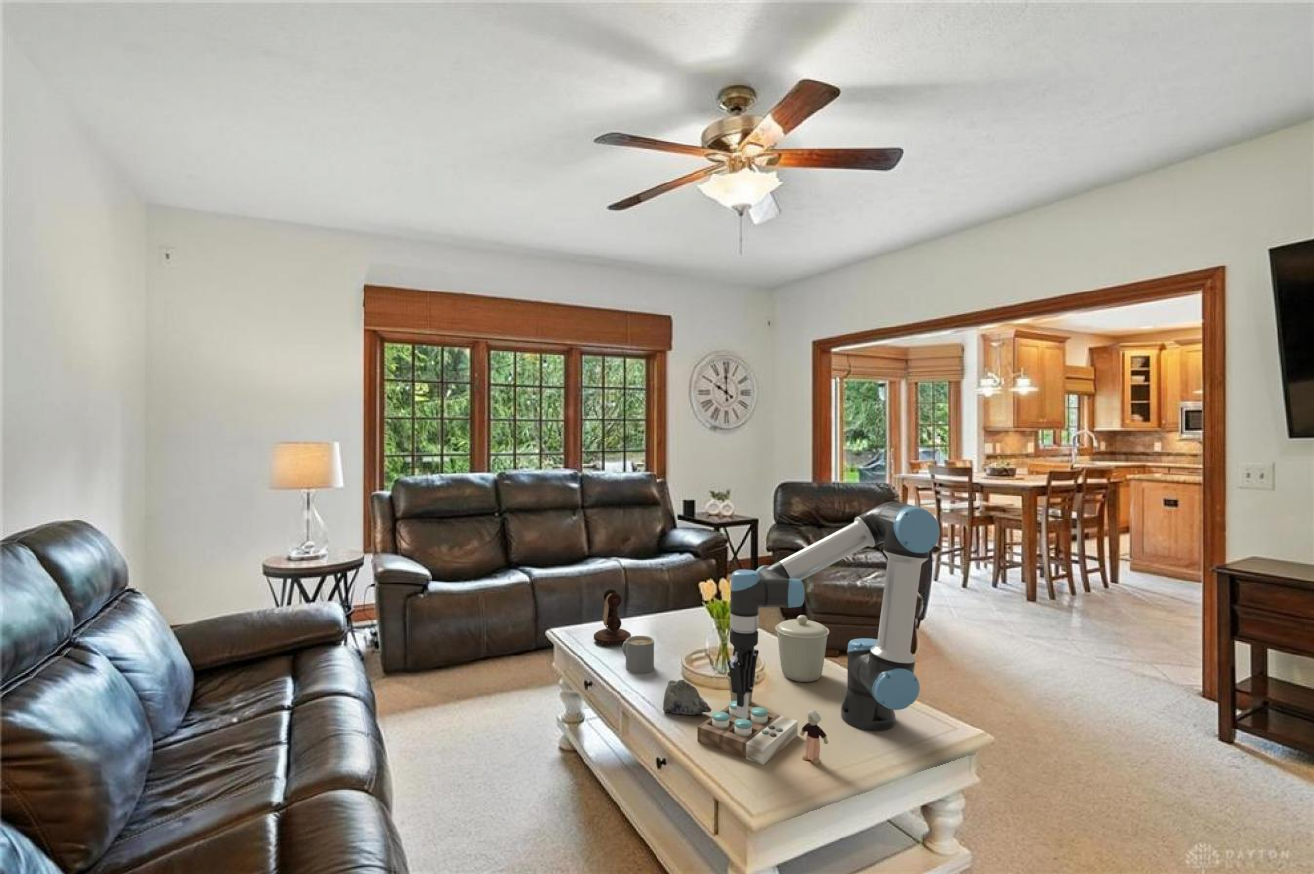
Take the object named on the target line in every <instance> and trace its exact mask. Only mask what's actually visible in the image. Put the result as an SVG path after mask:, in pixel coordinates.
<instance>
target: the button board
mask: <svg viewBox="0 0 1314 874" xmlns="http://www.w3.org/2000/svg"><path fill="white" fill-rule="evenodd" d="M752 708H755V707H754V706H751V705H748V718H747V720H750V721H751V709H752ZM719 712H725V713H728V714H729V705H728V706H726V707H725V708H724V709H721V710H719ZM737 719H743V718H738V717H735V716H732V715H729V727H728V728H727V729H726V730H722V729H719V728H716V727H713V726H712V716H711V717H710V718H708V719H706V720H705V721H703V722H702V723H701V724H699V725H698V726H697V730H696V731H697V739H696V740H697V742H699V743H702V744H704V745H707V746H710V747H712V748H715V749H718V750H721V751H724V752H726V753H728V754H731V755H735V756H738V757H740V758H743V759H746V760H749V761H751V762H753V763H757V764H760V765H761V766H764V765H765V764H766V763H768V762H770V760H771V759H772V758H773V757H774V756H776V755H777V754H778V753H779V752H780V751H782V749H784V748H785V747H786V746H787V745H788V744H790V742H791V741H793V740H794V739H795V738H796V737H798V736H799V735H798V731H799V730H798V723H799V721H798V720H796V719H793V718H789V717H786V716H783V715H780V714H778V713H777V714H776V713H773V712H769V711H768V723H766V724H765V725H764V726H763V725H760V724H757V723H754V722H752V735H751V736H750V737H748V738H745V737H742V736H739V735H736V734H734V731H735V720H737Z"/></svg>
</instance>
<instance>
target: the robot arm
mask: <svg viewBox="0 0 1314 874" xmlns="http://www.w3.org/2000/svg"><path fill="white" fill-rule="evenodd" d="M940 532H941V531H940V525H939V522H938V519H937V518H936V517H935V516H934V515H933V514H932V513H931V512H930V511H929V510H926V509H925V508H922V507H920V506H918V505H914V504H913V505H912V504H907V503H904V502H901V501H888V502H885V503H884V502H883V503H882V504H880V505H877V506H875V507H873V508H871V509H869V510H867V511H866V512H864V513H862V514H860V515H857V516H856V517H854V521H853V522H852V523H849V524H848V525H846V526H844V527H843V528H840V529H839V530H837V531H835V532H833V533H831V534H830V535H827V536H825V537H823V538H822V539H820V540H818V541H815V542H814V543H812V544H810V545H808V546H806V547H804V548H803V549H800V550H798V551H797V552H795V553H793V554H791V555H789V556H788V557H785V558H784V559H781V560H779V561H778V562H775V563H773V564H772V565H764V564H763V565H761V566H759V567H758V568H757V569H755V570H753V569H737V570H734V571H733V572H732V574H731V580H730V586H729V587H730V588H729V589H730V611H729V612H730V614H729V618H730V619H729V620H730V622H729V627H730V629H729V643H730V644H731V645H732V646H733V651H732V656H733V657H732V658H731V659H728V660H727V666H728V667H729V671H730V678H731V687H732V692H733V693H736V694H737V717H740V718H743V719H747V718H748V706H749V705H748V699H749V693H748V692H750V693H752V691H753V692H754V689H753V690H752V689H750V688H751V687H753V688H754V686H755V682H754V677H755V674H756V667H757V660H758V657H759V653H760V652H759V650H758V649H755V647H756V646H757V645H758V644H759V631H758V630H759V613H760V611H759V609H760V608H789V609H791V608H799V607H802V606H803V604H804V602H805V593H806V592H805V586H804V583H803V581H802V580H804V579H807V578H809V577H810V576H812V575H814V574H816V573H818V572H819V571H822V570H823V569H826V568H828V567H829V566H831V565H833V564H835V563H837V562H839V561H840V560H843V559H845V558H846V557H849V556H850V555H852V554H854V553H857V552H859V551H860V550H862V549H864V548H866V547H871V548H874V547H876V546H877V545H880V544H882V543H883V547H882V548H883V549H882V552H883V553H884V554H885V555H886V557H887V563H886V572H885V579H884V587H883V592H882V593H883V594H882V601H881V610H880V617H879V626H878V634H877V638H876V639H875V638H862V637H861V638H854V639H851V640H850V641H849V642H848V644H847V650H846V653H847V679H846V680H847V690H846V693H845V696H844V699H843V702H842V704H841V708H840V717H841V719H842V720H843V721H844V722H845V723H847V724H849V725H851V726H853V727H855V728H858V729H863V730H868V731H886V730H890V729H892V728H893V727H895V725H896V712H895V711H899V710H900V711H901V710H904V709H907V708H908V707H909V706H910V705H913V704H914V703H915V702H916V700H917V699H918V697H919V696H920V695H919V694H920V692H921V691H920V690H921V689H920V688H921V685H920V682H919V679H918V677H917V676H916V675H915V665H916V657H915V655H913V653H912V652H911V650H912V648H911V647H912V639H913V633H914V623H915V617H916V608H917V601H918V600H917V599H918V592H919V586H920V580H921V570H922V565H923V563H925V562H926V561H928V560H929V557H930V551H931V550H933V548H934V547H936V545H937V544H938V542H939V539H940V535H941V533H940ZM753 685H754V686H753ZM752 694H753V693H752Z"/></svg>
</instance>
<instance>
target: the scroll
mask: <svg viewBox="0 0 1314 874" xmlns="http://www.w3.org/2000/svg"><path fill="white" fill-rule="evenodd" d="M603 600H604V607H603V614H602V615H603V617H602V618H603V619H602V620H603V624H604V626H605V628H602V629H600V630H598V631H597V632H595V633H594V634H593V640H594V641H596V642H597V643H600V644H601V646H602V647H605V645H606V644H607V645H608V644H609V645H610V644H611V645H612V644H614V645H615V644H622V643H624V642H625V641H626V639H627V638H629V637H632V635H631V632H629V631H628V630H626V629H623V628H621V626H622V620H621V618H620V617H619V616H618V615H619V612H618V607H619V606H620V605H621V604H622V597H621V595H620V594H619V593H618V592H617V591H616V590H615V589H613V588H612V589H611V588H609V589H607V590H606V591H605V592H604V594H603Z"/></svg>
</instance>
